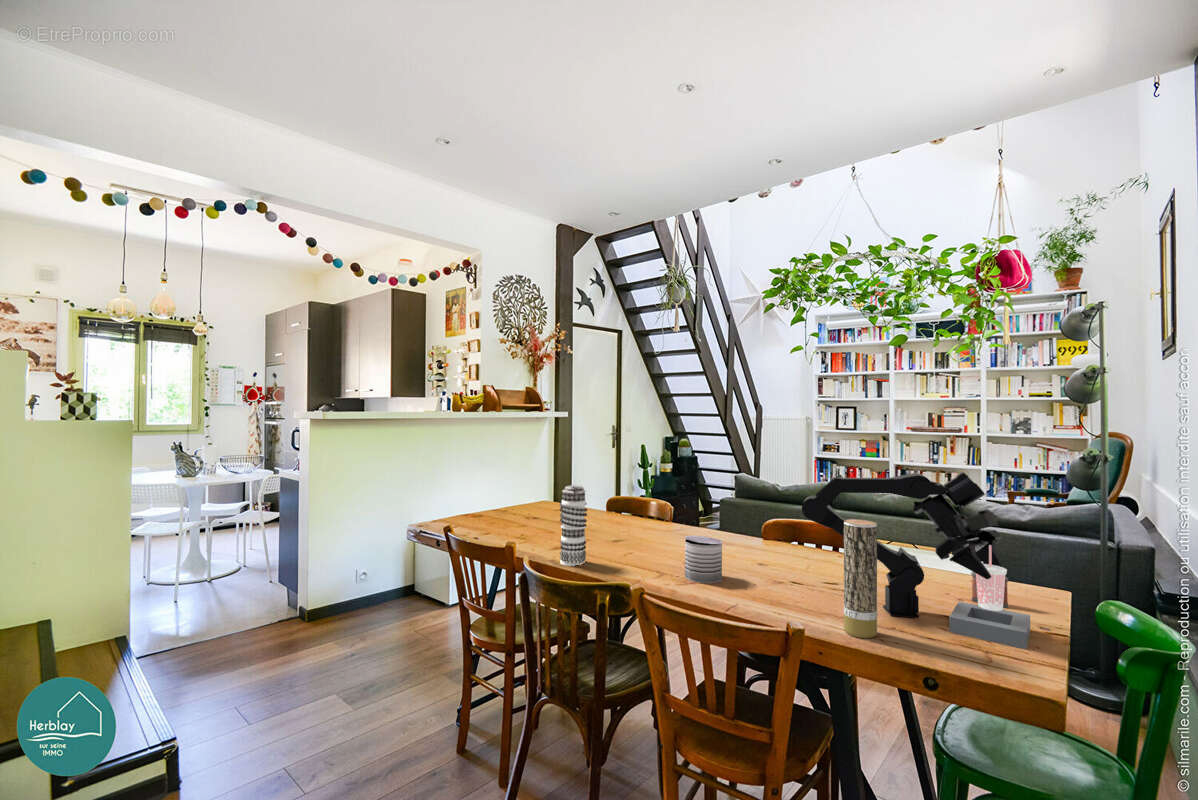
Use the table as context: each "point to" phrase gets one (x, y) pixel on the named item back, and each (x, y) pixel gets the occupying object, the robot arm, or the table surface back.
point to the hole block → (990, 625)
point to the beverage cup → (991, 587)
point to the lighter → (974, 590)
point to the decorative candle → (573, 526)
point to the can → (703, 559)
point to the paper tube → (860, 578)
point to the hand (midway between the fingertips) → (997, 576)
